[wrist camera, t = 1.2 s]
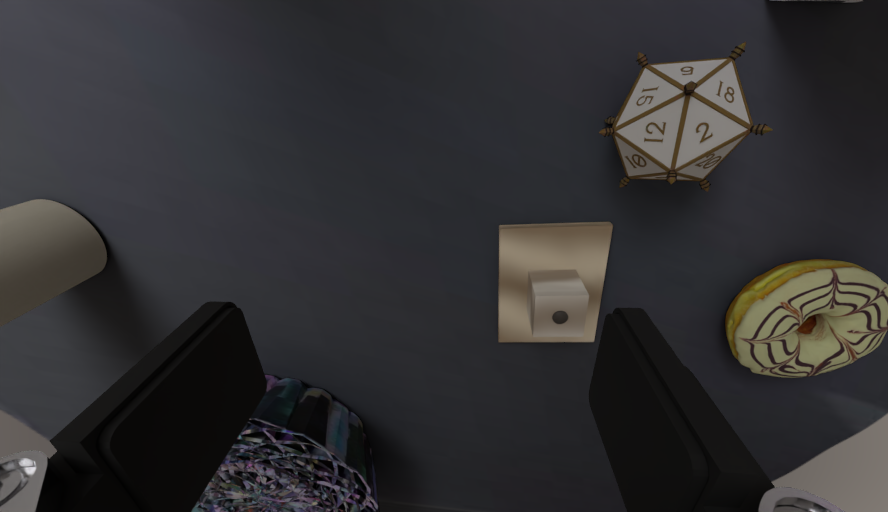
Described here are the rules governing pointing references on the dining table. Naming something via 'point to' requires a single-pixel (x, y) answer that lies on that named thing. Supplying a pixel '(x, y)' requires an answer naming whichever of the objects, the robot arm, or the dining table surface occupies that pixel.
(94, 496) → the robot arm
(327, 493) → the decorative bowl
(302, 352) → the dining table surface
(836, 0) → the candy box
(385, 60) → the dining table surface
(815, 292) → the decorated donut
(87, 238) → the travel mug
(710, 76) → the game die
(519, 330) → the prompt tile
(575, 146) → the dining table surface
